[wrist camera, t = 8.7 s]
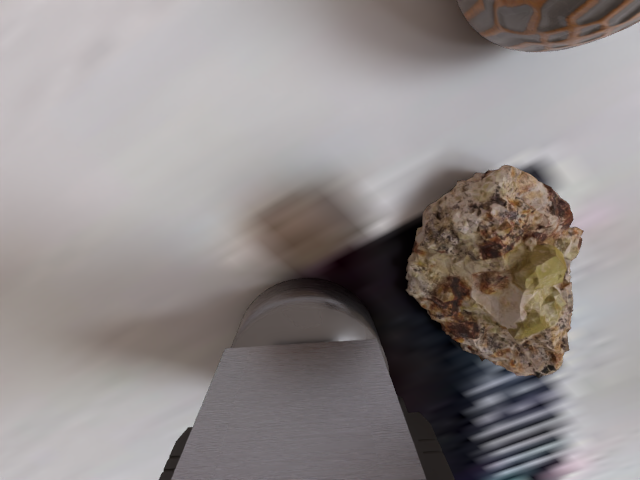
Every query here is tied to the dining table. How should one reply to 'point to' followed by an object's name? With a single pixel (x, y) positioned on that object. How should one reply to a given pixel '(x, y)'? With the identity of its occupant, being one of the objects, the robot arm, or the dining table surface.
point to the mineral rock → (499, 269)
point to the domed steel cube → (301, 417)
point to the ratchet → (305, 316)
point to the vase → (548, 21)
